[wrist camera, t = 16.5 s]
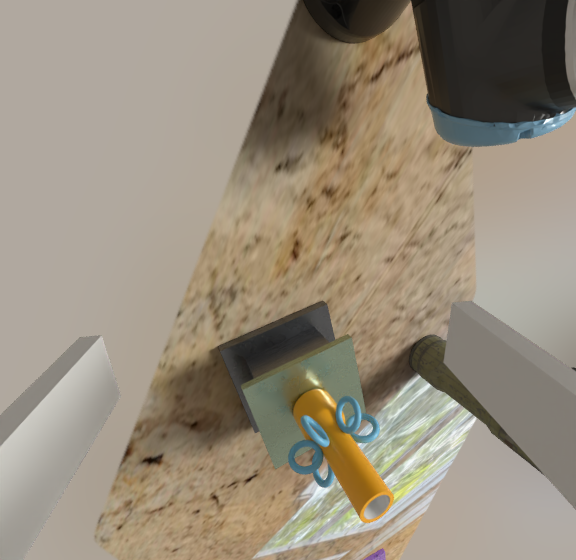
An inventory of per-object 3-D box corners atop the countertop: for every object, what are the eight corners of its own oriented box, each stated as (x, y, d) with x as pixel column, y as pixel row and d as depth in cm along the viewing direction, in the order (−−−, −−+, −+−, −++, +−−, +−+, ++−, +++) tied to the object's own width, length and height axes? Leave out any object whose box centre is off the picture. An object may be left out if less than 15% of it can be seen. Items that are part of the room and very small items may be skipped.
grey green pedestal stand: (322, 300, 51) (356, 328, 43) (341, 381, 59) (373, 418, 50) (218, 346, 47) (232, 387, 38) (252, 426, 55) (270, 476, 46)
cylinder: (278, 450, 45) (329, 568, 32) (263, 395, 40) (315, 507, 27) (351, 414, 48) (425, 507, 35) (345, 360, 44) (426, 444, 31)
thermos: (445, 362, 69) (674, 519, 38) (401, 378, 65) (616, 567, 35) (450, 327, 66) (704, 470, 35) (404, 342, 62) (645, 516, 31)
